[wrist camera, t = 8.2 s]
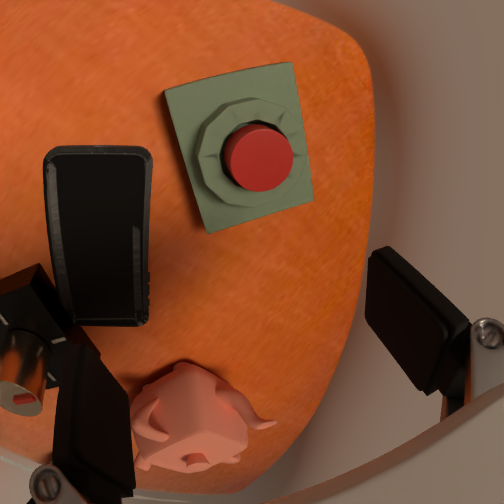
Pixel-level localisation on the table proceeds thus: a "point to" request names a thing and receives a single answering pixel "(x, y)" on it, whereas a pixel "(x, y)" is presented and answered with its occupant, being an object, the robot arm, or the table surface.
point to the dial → (23, 372)
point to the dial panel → (39, 316)
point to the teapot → (191, 421)
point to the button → (258, 157)
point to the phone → (99, 231)
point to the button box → (222, 128)
